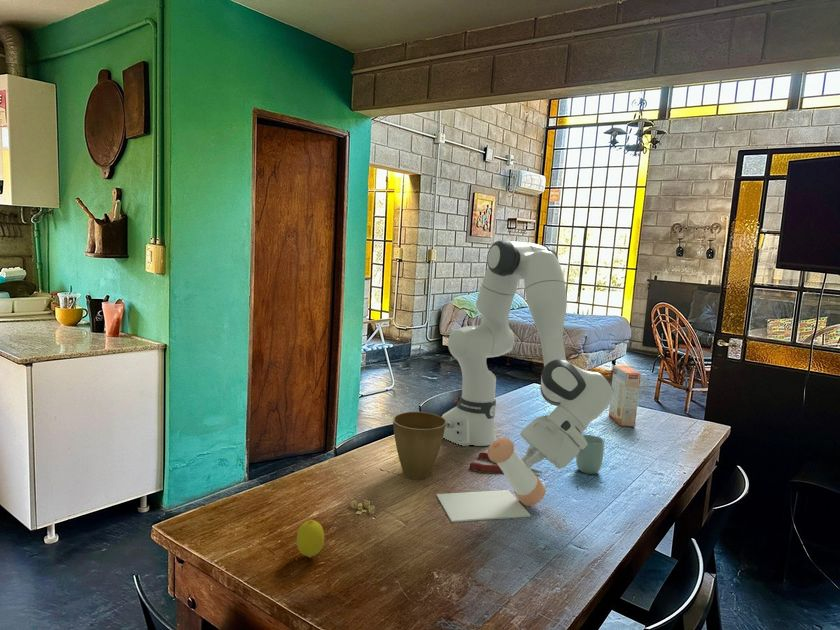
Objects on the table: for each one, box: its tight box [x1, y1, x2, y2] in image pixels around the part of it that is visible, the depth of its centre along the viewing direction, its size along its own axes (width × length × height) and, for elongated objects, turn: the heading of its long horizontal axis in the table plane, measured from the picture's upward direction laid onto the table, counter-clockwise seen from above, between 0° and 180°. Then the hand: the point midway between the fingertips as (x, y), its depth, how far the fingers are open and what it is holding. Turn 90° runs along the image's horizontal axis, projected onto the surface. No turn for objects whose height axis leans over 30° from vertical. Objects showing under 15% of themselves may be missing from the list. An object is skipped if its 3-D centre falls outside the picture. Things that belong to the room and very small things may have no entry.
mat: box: [435, 489, 531, 523], centre depth 139 cm, size 20×14×1 cm
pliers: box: [469, 451, 543, 478], centre depth 163 cm, size 12×20×3 cm, turn 67°
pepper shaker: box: [487, 437, 547, 507], centre depth 139 cm, size 7×7×19 cm
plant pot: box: [392, 411, 446, 480], centre depth 156 cm, size 15×15×16 cm
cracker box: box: [608, 365, 641, 427], centre depth 215 cm, size 14×6×21 cm, turn 179°
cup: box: [575, 434, 605, 475], centre depth 164 cm, size 8×8×10 cm
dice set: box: [350, 500, 376, 515], centre depth 134 cm, size 5×5×2 cm
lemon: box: [296, 519, 325, 559], centre depth 112 cm, size 6×6×8 cm
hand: (525, 463), depth 140 cm, fingers closed, pressing on pepper shaker
